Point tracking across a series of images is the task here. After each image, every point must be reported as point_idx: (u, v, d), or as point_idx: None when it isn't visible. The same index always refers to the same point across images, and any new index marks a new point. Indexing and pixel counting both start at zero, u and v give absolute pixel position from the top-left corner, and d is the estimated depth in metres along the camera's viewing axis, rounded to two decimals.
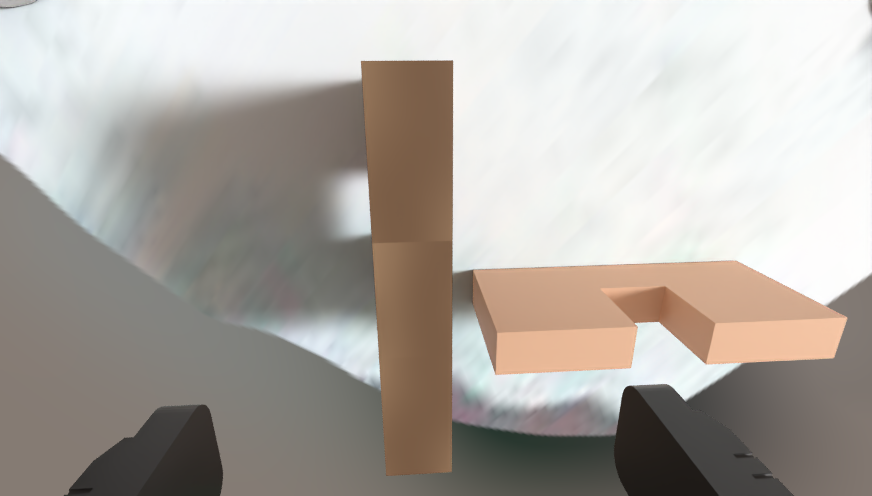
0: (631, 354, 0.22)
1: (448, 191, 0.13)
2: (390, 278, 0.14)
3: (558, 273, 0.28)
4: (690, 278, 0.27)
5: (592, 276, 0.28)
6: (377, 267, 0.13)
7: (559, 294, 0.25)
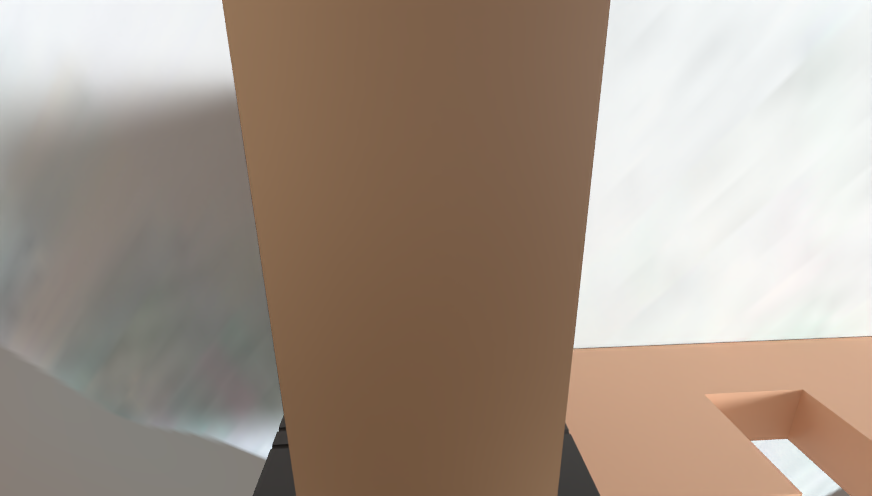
0: None
1: (551, 420, 0.04)
2: None
3: (632, 360, 0.19)
4: (833, 373, 0.18)
5: (684, 366, 0.19)
6: None
7: (646, 408, 0.16)
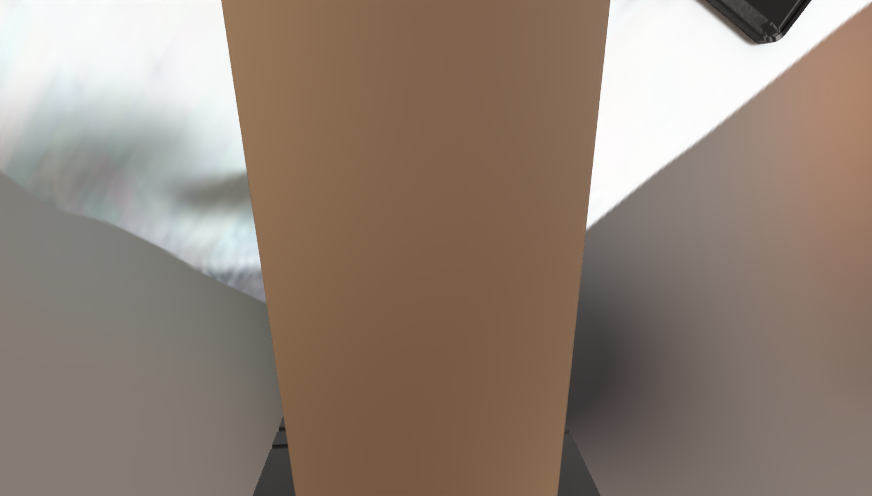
0: None
1: (551, 423, 0.04)
2: None
3: None
4: None
5: None
6: None
7: None
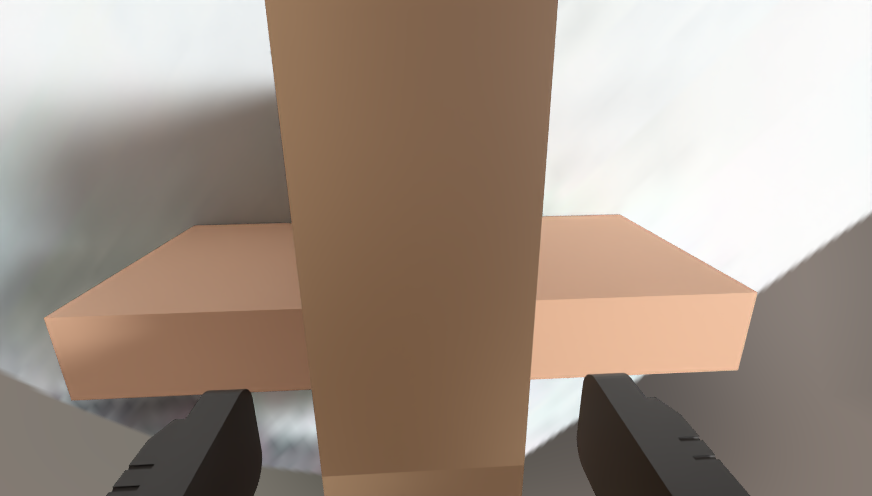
0: None
1: (520, 356, 0.05)
2: None
3: None
4: None
5: None
6: None
7: (274, 256, 0.15)
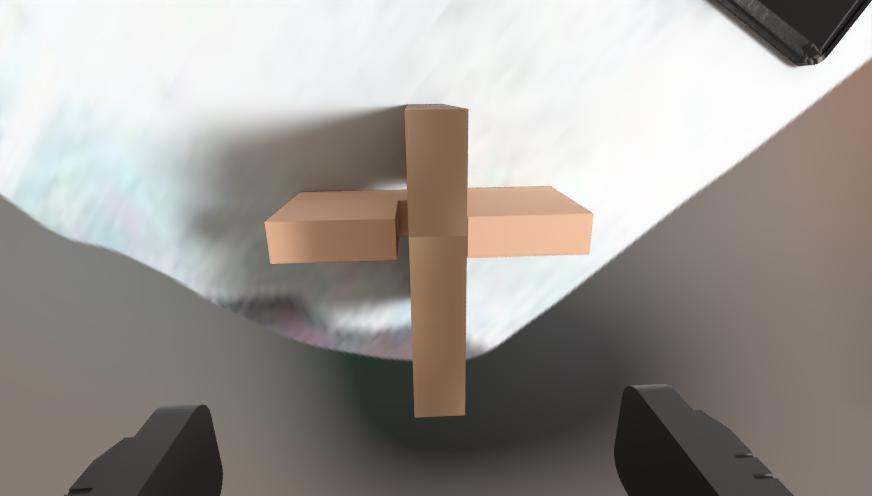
0: (394, 246, 0.25)
1: (464, 200, 0.18)
2: (421, 263, 0.19)
3: (374, 193, 0.30)
4: (489, 195, 0.29)
5: (403, 194, 0.30)
6: (412, 255, 0.18)
7: (355, 203, 0.28)
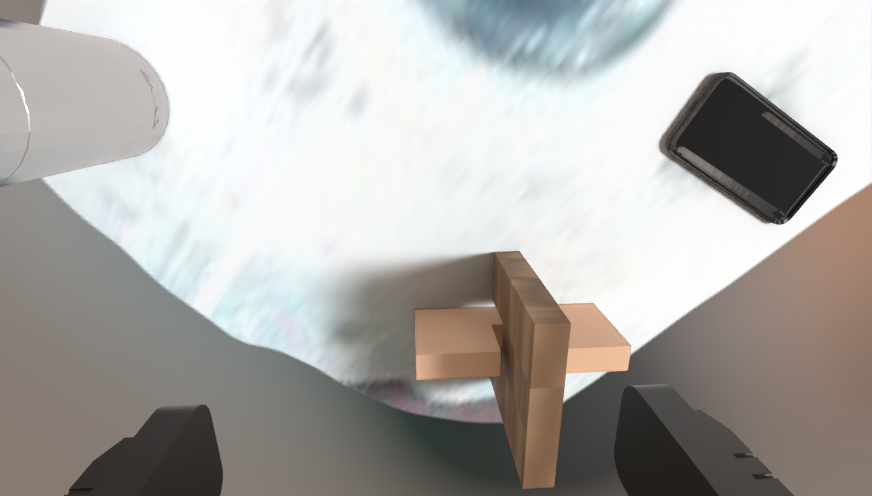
0: (499, 368, 0.37)
1: (564, 368, 0.30)
2: (536, 402, 0.31)
3: (469, 312, 0.43)
4: None
5: (491, 315, 0.42)
6: (531, 398, 0.31)
7: (463, 328, 0.40)
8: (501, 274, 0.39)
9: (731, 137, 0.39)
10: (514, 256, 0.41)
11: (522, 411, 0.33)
